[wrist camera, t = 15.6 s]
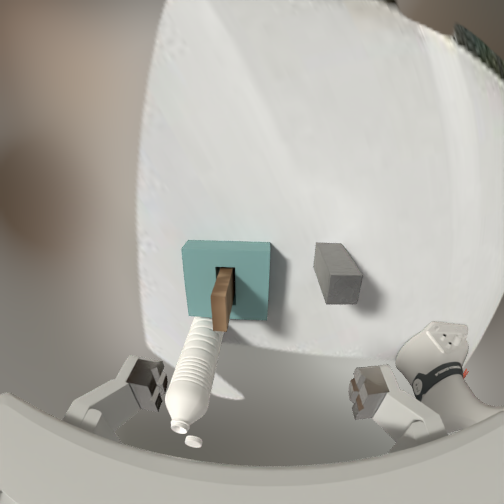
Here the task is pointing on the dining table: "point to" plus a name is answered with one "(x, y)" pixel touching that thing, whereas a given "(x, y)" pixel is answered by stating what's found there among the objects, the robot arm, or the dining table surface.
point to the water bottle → (194, 377)
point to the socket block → (246, 276)
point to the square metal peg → (337, 274)
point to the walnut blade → (223, 298)
